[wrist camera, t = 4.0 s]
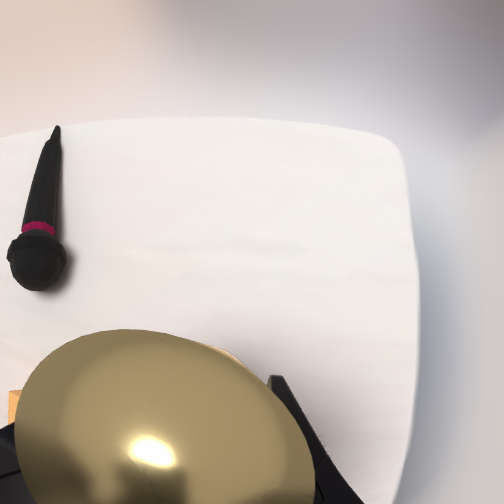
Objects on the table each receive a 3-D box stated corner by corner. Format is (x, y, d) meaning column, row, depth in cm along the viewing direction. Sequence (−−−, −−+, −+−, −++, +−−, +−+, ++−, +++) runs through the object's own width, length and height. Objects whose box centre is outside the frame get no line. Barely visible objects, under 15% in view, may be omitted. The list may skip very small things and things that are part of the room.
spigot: (243, 431, 14) (282, 595, 2) (161, 416, 14) (26, 530, 2) (255, 353, 16) (339, 357, 4) (172, 339, 16) (28, 296, 4)
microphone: (57, 151, 31) (42, 304, 23) (28, 126, 25) (-6, 288, 17) (87, 128, 30) (79, 287, 22) (59, 100, 25) (26, 266, 17)
